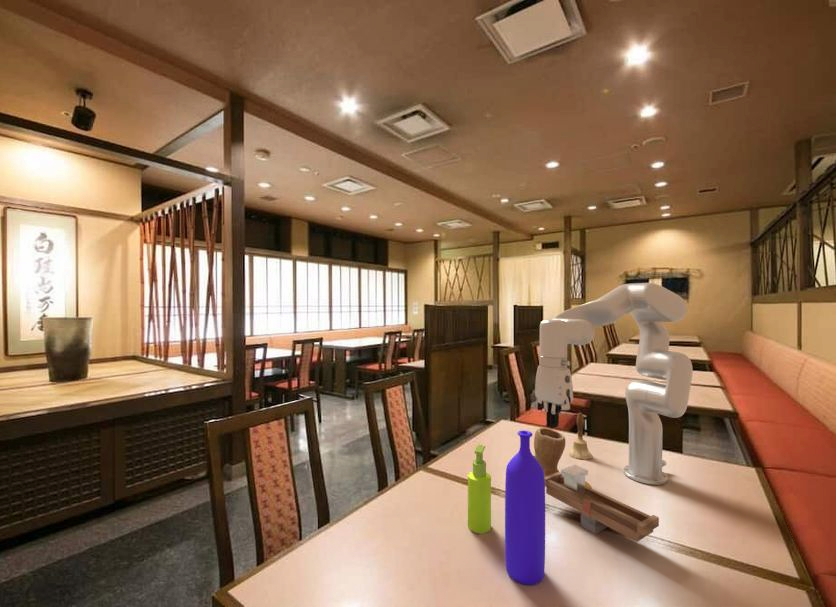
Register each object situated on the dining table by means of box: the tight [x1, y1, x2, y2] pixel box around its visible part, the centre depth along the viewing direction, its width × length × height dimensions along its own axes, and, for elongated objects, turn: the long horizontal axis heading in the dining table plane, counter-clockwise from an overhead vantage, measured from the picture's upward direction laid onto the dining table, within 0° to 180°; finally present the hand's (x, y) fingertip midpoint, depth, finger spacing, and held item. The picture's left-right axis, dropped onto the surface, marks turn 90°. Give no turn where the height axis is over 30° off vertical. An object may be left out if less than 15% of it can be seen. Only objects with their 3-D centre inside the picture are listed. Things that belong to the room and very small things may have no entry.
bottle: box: [504, 430, 546, 586], centre depth 80 cm, size 8×8×30 cm
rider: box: [560, 464, 589, 495], centre depth 102 cm, size 6×4×6 cm, turn 122°
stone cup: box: [533, 427, 566, 477], centre depth 126 cm, size 15×12×15 cm
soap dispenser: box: [467, 444, 492, 534], centre depth 97 cm, size 6×7×20 cm
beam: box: [544, 471, 660, 543], centre depth 97 cm, size 7×27×8 cm, turn 32°
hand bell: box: [568, 412, 593, 461], centre depth 142 cm, size 8×8×16 cm
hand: (552, 426), depth 108 cm, fingers closed
